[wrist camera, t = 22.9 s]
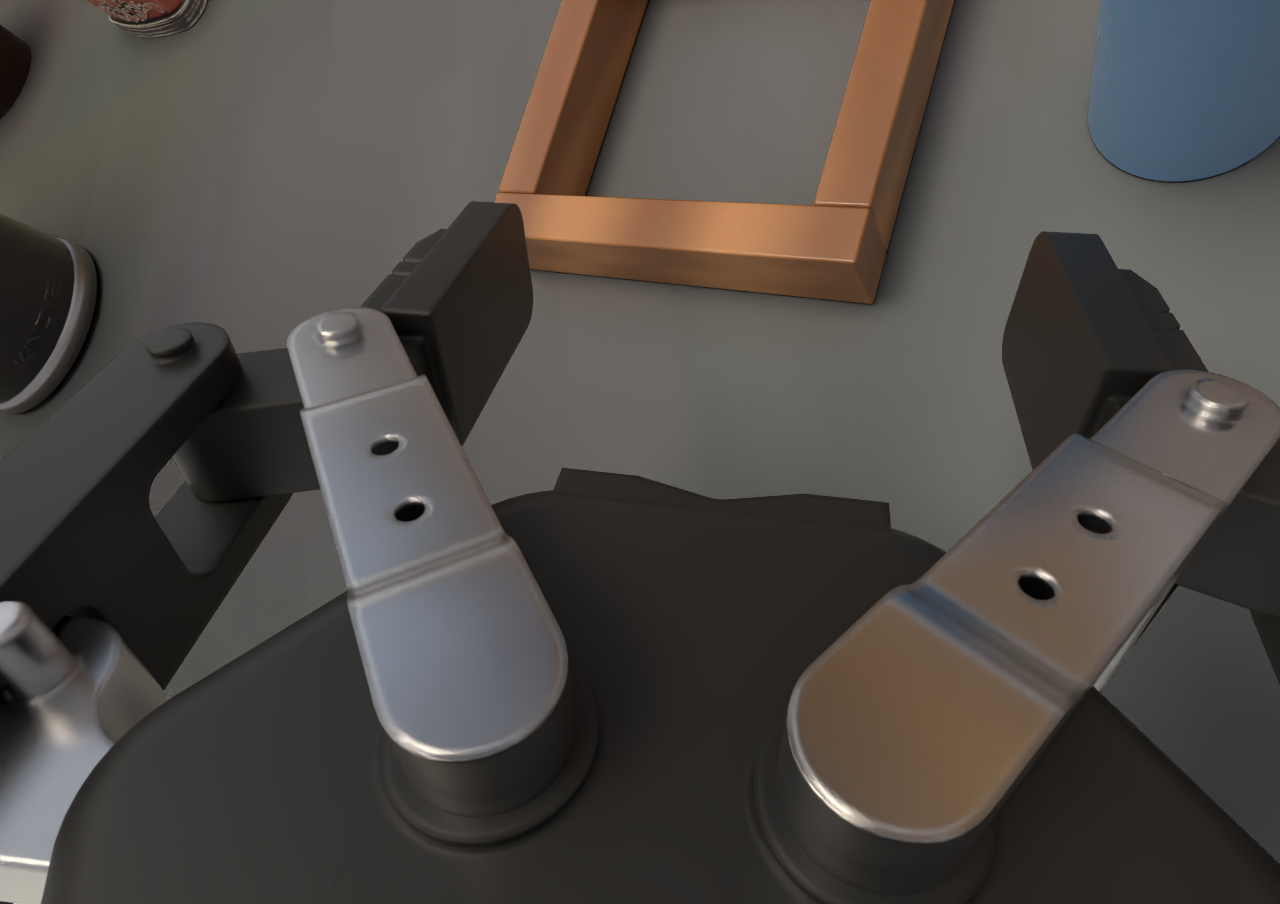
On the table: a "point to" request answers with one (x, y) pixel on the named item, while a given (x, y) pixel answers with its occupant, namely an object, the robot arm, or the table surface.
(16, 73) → the coffee mug
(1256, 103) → the canister
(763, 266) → the holder
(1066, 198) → the table surface
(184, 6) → the lighter
